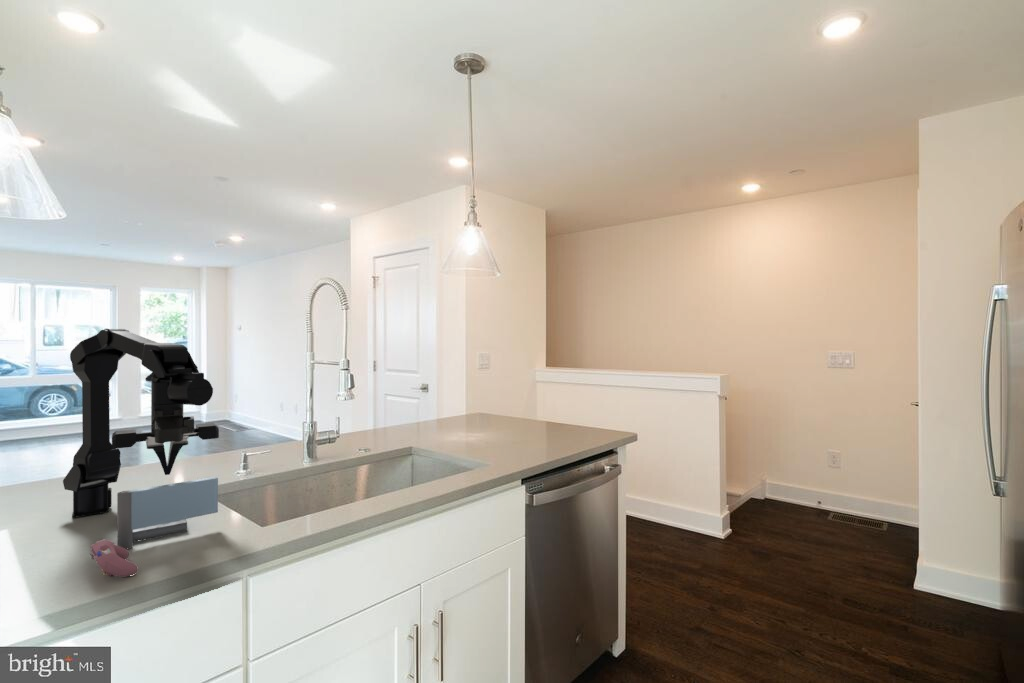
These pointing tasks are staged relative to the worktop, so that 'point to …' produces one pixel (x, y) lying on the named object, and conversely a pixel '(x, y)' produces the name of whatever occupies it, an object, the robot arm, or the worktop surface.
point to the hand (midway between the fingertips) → (167, 474)
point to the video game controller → (112, 559)
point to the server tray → (160, 530)
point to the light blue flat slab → (163, 506)
